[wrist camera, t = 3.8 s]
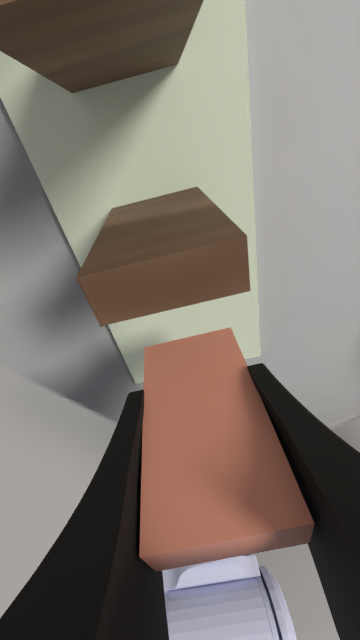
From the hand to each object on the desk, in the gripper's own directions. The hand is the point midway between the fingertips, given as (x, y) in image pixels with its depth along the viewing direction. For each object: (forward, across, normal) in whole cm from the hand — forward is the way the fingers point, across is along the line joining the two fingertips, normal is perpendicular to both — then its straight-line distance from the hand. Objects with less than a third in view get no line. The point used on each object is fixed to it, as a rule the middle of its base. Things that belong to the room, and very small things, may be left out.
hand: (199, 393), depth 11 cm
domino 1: (+3, 0, 0) cm, 3 cm away
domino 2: (+7, 0, -6) cm, 9 cm away
